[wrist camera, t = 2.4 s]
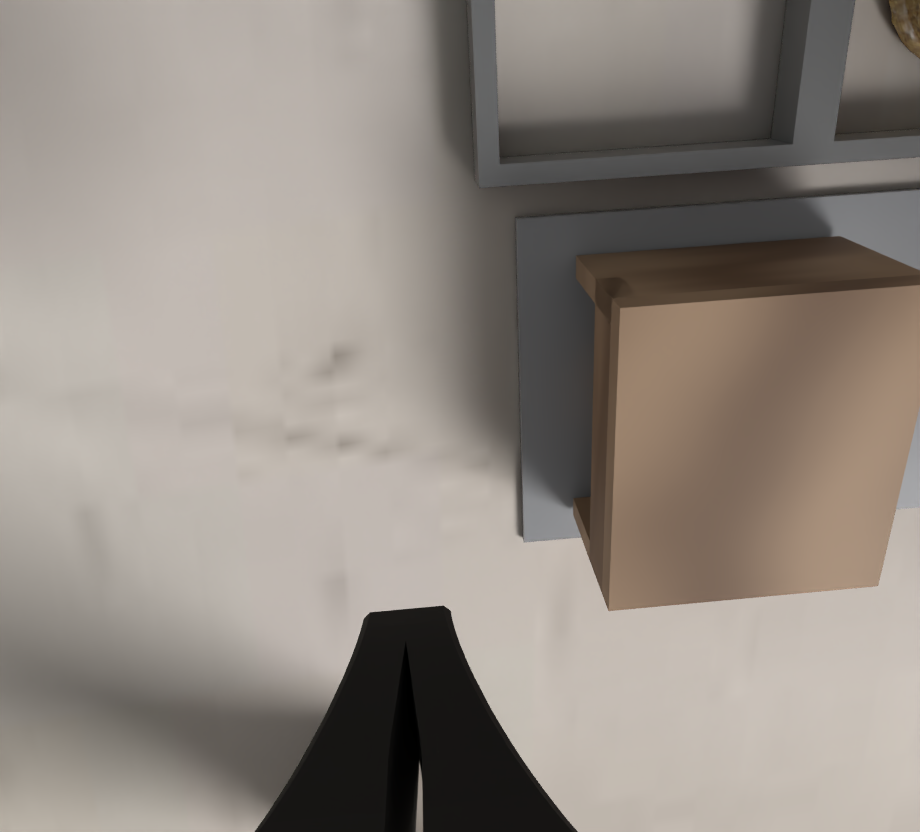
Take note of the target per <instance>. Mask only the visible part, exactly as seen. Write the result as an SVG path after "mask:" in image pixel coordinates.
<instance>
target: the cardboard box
mask: <svg viewBox="0 0 920 832" xmlns="http://www.w3.org/2000/svg"><path fill="white" fill-rule="evenodd" d="M576 279H577V280H578V282H579V283H580V284H581V286H582V287H583V288H584V290H585V291H586V292H587V294H588V295H589V296H590V298H591V299H592V300H593V302H594V303H595V330H594V373H593V416H592V460H591V497H581V498H573V516H574V519H575V521H576V524H577V527H578V529H579V532H580V535H581V538H582V540H583V543H584V546H585V548H586V551H587V554H588V557H589V559H590V562H591V565H592V567H593V570H594V573H595V575H596V578H597V581H598V584H599V586H600V589H601V592H602V594H603V597H604V600H605V603H606V605H607V608H608V611H614V610H624V609H635V608H646V607H657V606H668V605H679V604H689V603H700V602H711V601H722V600H733V599H743V598H754V597H765V596H776V595H787V594H797V593H808V592H819V591H830V590H841V589H852V588H862V587H873V586H878V584H879V580H880V575H881V571H882V567H883V562H884V558H885V554H886V550H887V545H888V541H889V537H890V532H891V528H892V524H893V519H894V515H895V511H896V507H897V502H898V498H899V494H900V489H901V485H902V481H903V476H904V472H905V468H906V464H907V459H908V455H909V451H910V446H911V442H912V438H913V434H914V429H915V425H916V421H917V416H918V412H919V408H920V270H918V269H915V268H913V267H911V266H908V265H906V264H904V263H901V262H899V261H897V260H894V259H892V258H890V257H888V256H885V255H883V254H881V253H878V252H876V251H874V250H871V249H869V248H867V247H864V246H862V245H860V244H857V243H855V242H853V241H851V240H848V239H846V238H844V237H841V236H834V237H820V238H807V239H793V240H779V241H766V242H752V243H739V244H725V245H712V246H698V247H685V248H671V249H658V250H644V251H631V252H617V253H604V254H590V255H576Z"/></svg>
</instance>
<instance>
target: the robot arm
mask: <svg viewBox="0 0 920 832" xmlns="http://www.w3.org/2000/svg"><path fill="white" fill-rule="evenodd" d="M419 761H420V767H421V775H422V791H423V832H577V830H576V829H575V828H574V827H573V826H572V825H571V824H570V822H569V821H568V820H567V819H566V818H565V816H564V815H563V814H562V813H561V811H560V810H559V809H558V808H557V806H556V805H555V804H554V802H553V801H552V800H551V799H550V797H549V796H548V795H547V793H546V792H545V791H544V789H543V788H542V787H541V785H540V784H539V783H538V781H537V780H536V778H535V777H534V776H533V774H532V773H531V771H530V770H529V769H528V767H527V766H526V764H525V763H524V761H523V760H522V758H521V757H520V755H519V754H518V752H517V751H516V749H515V748H514V746H513V745H512V743H511V742H510V740H509V738H508V737H507V735H506V733H505V732H504V730H503V729H502V727H501V725H500V724H499V722H498V720H497V719H496V717H495V715H494V713H493V712H492V710H491V708H490V706H489V704H488V703H487V701H486V699H485V697H484V695H483V693H482V691H481V689H480V687H479V685H478V683H477V681H476V679H475V678H474V675H473V673H472V671H471V669H470V667H469V665H468V663H467V660H466V658H465V655H464V653H463V651H462V648H461V646H460V643H459V640H458V638H457V635H456V632H455V628H454V625H453V621H452V617H451V611H450V610H449V609H447V608H446V607H445V606H435V607H425V608H414V609H403V610H392V611H381V612H370V613H369V614H368V615H367V616H366V617H365V618H364V620H363V624H362V628H361V631H360V635H359V638H358V641H357V644H356V646H355V649H354V652H353V654H352V657H351V659H350V662H349V664H348V667H347V669H346V672H345V674H344V676H343V679H342V681H341V683H340V685H339V687H338V689H337V692H336V694H335V696H334V698H333V700H332V702H331V704H330V707H329V709H328V711H327V713H326V715H325V717H324V719H323V721H322V723H321V725H320V726H319V728H318V730H317V732H316V734H315V736H314V737H313V739H312V741H311V743H310V745H309V747H308V748H307V750H306V752H305V754H304V756H303V758H302V759H301V761H300V763H299V765H298V766H297V768H296V770H295V771H294V773H293V775H292V776H291V778H290V780H289V781H288V783H287V784H286V786H285V788H284V789H283V791H282V792H281V794H280V795H279V797H278V798H277V800H276V801H275V803H274V805H273V806H272V808H271V809H270V811H269V812H268V814H267V815H266V817H265V818H264V819H263V821H262V822H261V824H260V825H259V826H258V828H257V829H256V831H255V832H416V818H417V799H418V780H419Z"/></svg>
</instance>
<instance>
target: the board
mask: <svg viewBox="0 0 920 832" xmlns="http://www.w3.org/2000/svg"><path fill="white" fill-rule="evenodd" d="M515 219H516V261H517V303H518V346H519V388H520V430H521V473H522V515H523V540H524V542H534V541H545V540H556V539H568V538H579V537H581V535H580V532H579V529H578V527H577V524H576V521H575V519H574V516H573V498H581V497H591V460H592V416H593V373H594V330H595V303H594V302H593V300H592V299H591V298H590V296H589V295H588V294H587V292H586V291H585V290H584V288H583V287H582V286H581V284H580V283H579V282H578V280H577V279H576V255H590V254H604V253H617V252H631V251H644V250H658V249H671V248H685V247H698V246H712V245H725V244H739V243H752V242H766V241H779V240H793V239H807V238H820V237H834V236H841V237H844V238H846V239H848V240H851V241H853V242H855V243H857V244H860V245H862V246H864V247H867V248H869V249H871V250H874V251H876V252H878V253H881V254H883V255H885V256H888V257H890V258H892V259H894V260H897V261H899V262H901V263H904V264H906V265H908V266H911V267H913V268H915V269H918V270H920V188H919V189H905V190H892V191H878V192H864V193H850V194H836V195H822V196H808V197H794V198H780V199H766V200H752V201H738V202H724V203H710V204H696V205H682V206H668V207H654V208H640V209H626V210H613V211H599V212H585V213H571V214H557V215H543V216H529V217H515ZM918 507H920V408H919V412H918V416H917V421H916V425H915V429H914V434H913V438H912V442H911V446H910V451H909V455H908V459H907V464H906V468H905V472H904V476H903V481H902V485H901V489H900V494H899V498H898V502H897V507H896V509H907V508H918Z"/></svg>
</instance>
